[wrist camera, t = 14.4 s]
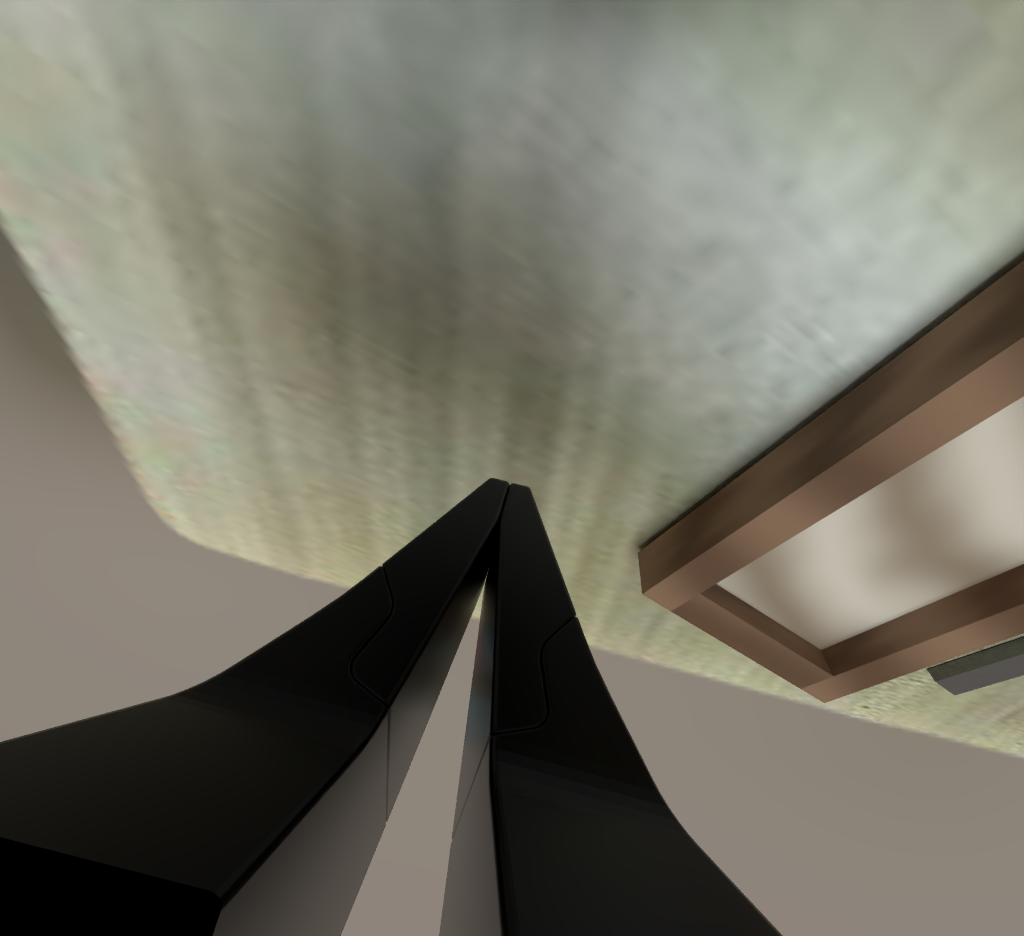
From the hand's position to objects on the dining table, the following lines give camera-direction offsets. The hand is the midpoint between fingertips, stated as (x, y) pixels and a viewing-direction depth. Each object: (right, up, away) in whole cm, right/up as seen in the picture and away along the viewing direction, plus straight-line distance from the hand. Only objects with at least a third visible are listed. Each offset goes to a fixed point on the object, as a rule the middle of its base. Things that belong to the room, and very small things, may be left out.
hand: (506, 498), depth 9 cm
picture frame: (+20, -2, +11) cm, 23 cm away
